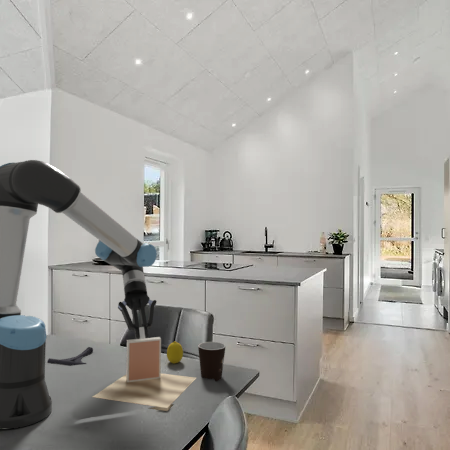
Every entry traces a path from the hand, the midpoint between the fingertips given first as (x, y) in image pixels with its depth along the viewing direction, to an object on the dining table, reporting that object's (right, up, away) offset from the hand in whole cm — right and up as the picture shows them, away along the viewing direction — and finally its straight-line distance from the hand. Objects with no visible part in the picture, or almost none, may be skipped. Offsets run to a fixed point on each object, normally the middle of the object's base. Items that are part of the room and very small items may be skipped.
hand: (143, 347), depth 125 cm
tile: (+1, -9, -3) cm, 9 cm away
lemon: (+8, -10, +13) cm, 18 cm away
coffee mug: (+22, -10, +2) cm, 24 cm away
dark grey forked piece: (-27, -10, +18) cm, 34 cm away
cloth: (+3, -9, -9) cm, 13 cm away
